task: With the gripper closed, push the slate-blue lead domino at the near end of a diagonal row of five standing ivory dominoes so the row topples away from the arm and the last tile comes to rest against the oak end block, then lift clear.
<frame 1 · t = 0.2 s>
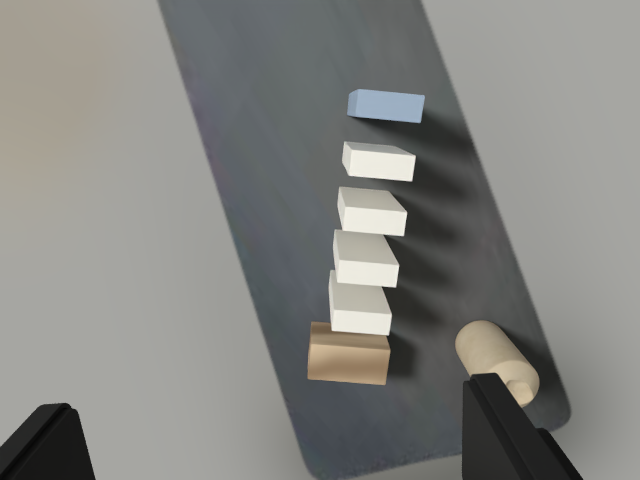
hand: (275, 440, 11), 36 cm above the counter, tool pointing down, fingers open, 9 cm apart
domino 2: (368, 153, 45), on the counter
candle: (478, 340, 51), on the counter
domino 1: (373, 106, 44), on the counter
domino 3: (362, 198, 46), on the counter
domino 4: (357, 240, 48), on the counter
domino 5: (352, 280, 49), on the counter
end block: (345, 340, 51), on the counter
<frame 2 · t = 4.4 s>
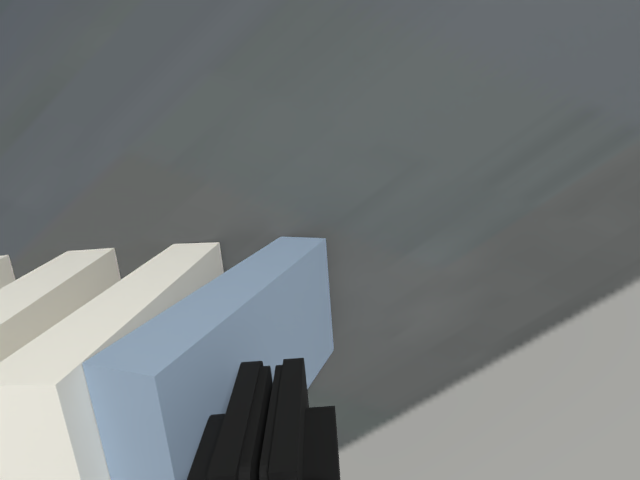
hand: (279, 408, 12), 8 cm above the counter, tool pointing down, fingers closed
domino 2: (204, 298, 19), on the counter, tilted 7°
domino 1: (307, 294, 19), on the counter, tilted 21°
domino 3: (103, 304, 20), on the counter
domino 4: (1, 310, 20), on the counter
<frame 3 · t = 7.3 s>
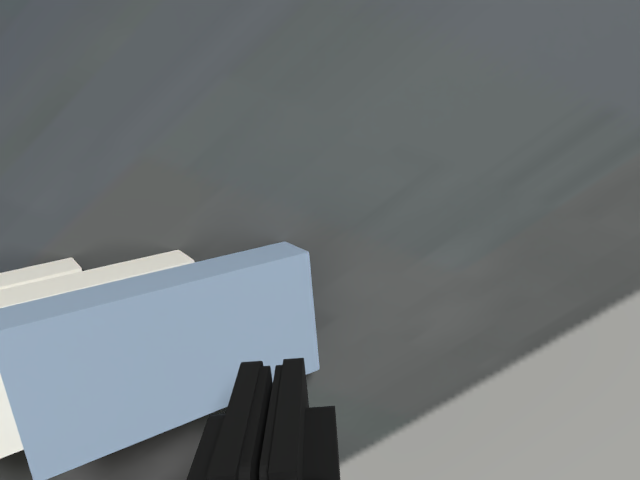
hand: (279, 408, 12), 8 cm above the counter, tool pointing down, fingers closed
domino 2: (195, 312, 19), point 1 cm above the counter, tilted 57°, touching domino 1, domino 3
domino 1: (302, 304, 19), point 1 cm above the counter, tilted 59°, touching domino 2
domino 3: (89, 319, 19), point 1 cm above the counter, tilted 53°, touching domino 2, domino 4
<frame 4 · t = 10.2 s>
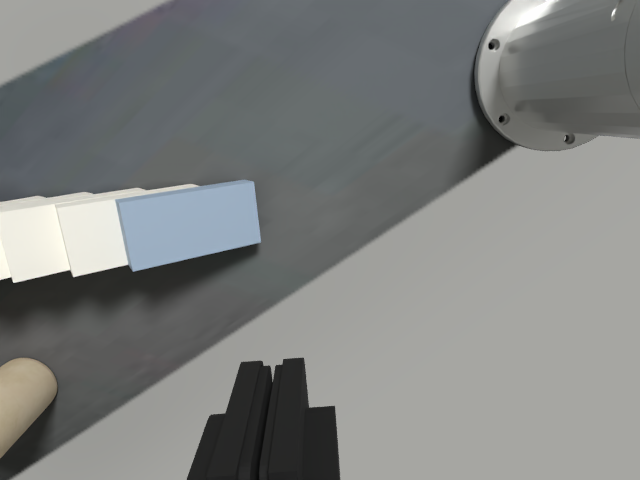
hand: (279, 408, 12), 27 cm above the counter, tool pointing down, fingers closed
domino 2: (199, 214, 37), point 1 cm above the counter, tilted 57°, touching domino 1, domino 3
candle: (30, 381, 43), on the counter
domino 1: (252, 210, 37), point 1 cm above the counter, tilted 59°, touching domino 2
domino 3: (147, 218, 37), point 1 cm above the counter, tilted 53°, touching domino 2, domino 4
domino 4: (95, 222, 38), point 1 cm above the counter, tilted 47°, touching domino 3, domino 5
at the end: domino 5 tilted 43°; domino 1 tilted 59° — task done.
